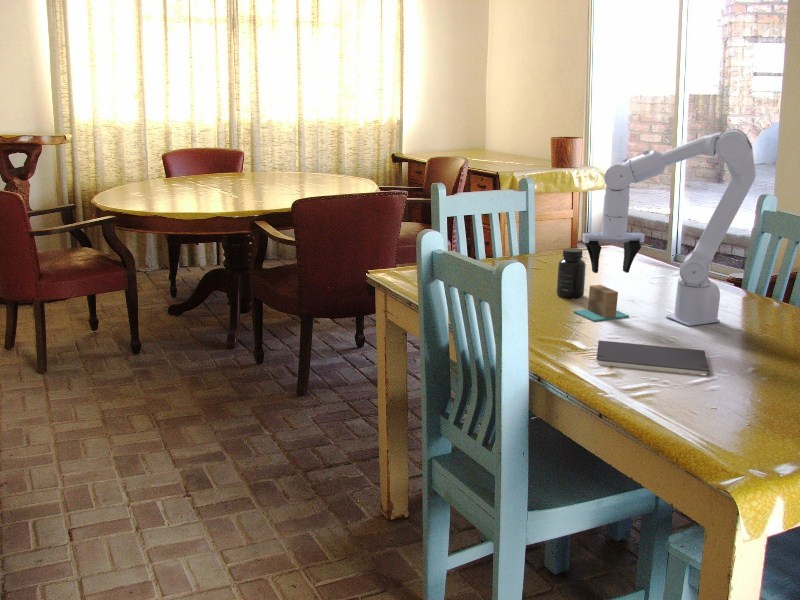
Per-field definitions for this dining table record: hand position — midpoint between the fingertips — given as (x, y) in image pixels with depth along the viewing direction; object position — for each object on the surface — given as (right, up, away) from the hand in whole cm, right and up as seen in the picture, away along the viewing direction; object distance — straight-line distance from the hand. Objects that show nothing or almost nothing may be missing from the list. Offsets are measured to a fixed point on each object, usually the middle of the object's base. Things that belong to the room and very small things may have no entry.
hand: (610, 271), depth 205 cm
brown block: (-3, -10, -2) cm, 10 cm away
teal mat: (-3, -10, -2) cm, 11 cm away
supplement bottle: (-7, -6, +14) cm, 17 cm away
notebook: (0, -19, -32) cm, 37 cm away
